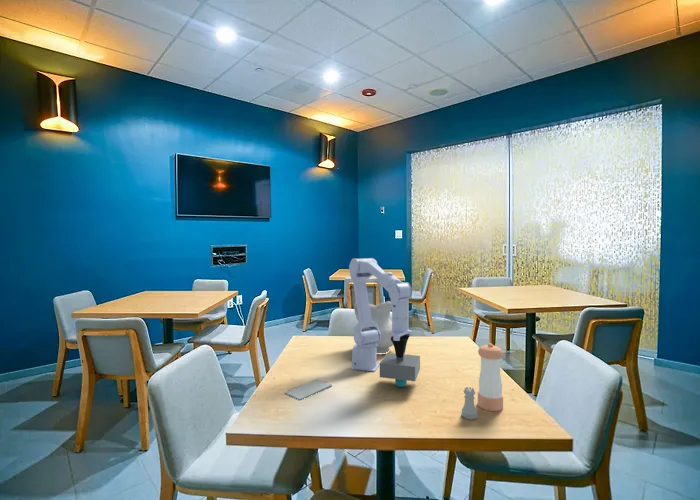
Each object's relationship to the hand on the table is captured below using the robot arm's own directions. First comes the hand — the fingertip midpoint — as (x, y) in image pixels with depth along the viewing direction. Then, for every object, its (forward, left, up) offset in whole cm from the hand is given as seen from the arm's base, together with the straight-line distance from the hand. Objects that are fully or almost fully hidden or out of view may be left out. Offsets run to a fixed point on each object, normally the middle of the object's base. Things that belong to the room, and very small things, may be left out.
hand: (400, 356), depth 123 cm
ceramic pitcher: (-19, +37, -11) cm, 43 cm away
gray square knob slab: (0, 0, -6) cm, 6 cm away
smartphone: (-29, -13, -11) cm, 34 cm away
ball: (0, -1, -8) cm, 8 cm away
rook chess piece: (+23, -15, -11) cm, 30 cm away
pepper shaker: (+29, -6, -11) cm, 31 cm away
